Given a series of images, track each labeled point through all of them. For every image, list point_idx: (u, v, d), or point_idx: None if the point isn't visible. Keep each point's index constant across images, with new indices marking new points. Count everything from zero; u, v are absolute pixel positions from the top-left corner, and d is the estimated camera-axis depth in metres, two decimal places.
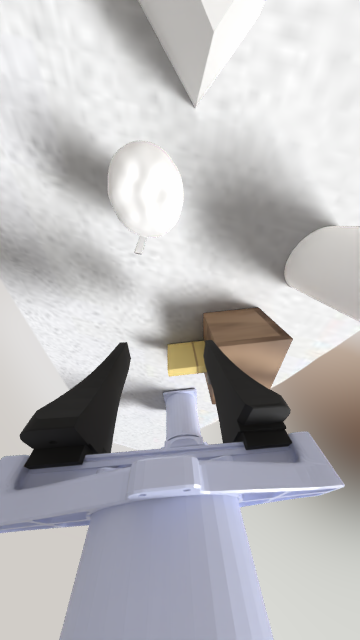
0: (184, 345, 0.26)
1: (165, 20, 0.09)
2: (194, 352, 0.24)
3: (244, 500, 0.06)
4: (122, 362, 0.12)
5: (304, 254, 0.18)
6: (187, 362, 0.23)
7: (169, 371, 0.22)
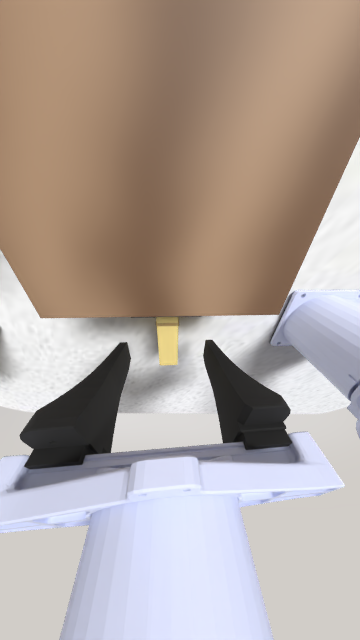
0: None
1: None
2: None
3: (244, 500, 0.06)
4: (122, 362, 0.12)
5: None
6: None
7: (164, 363, 0.13)
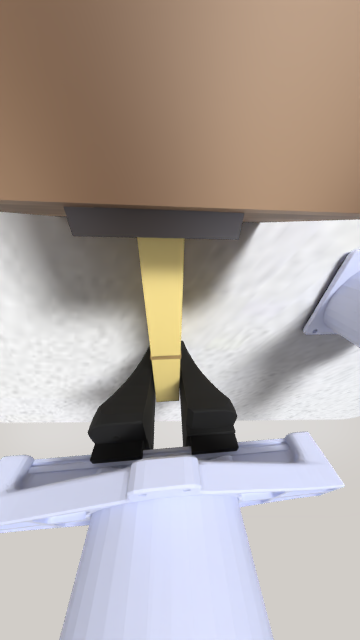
0: None
1: None
2: None
3: (244, 500, 0.06)
4: None
5: None
6: None
7: (162, 399, 0.10)
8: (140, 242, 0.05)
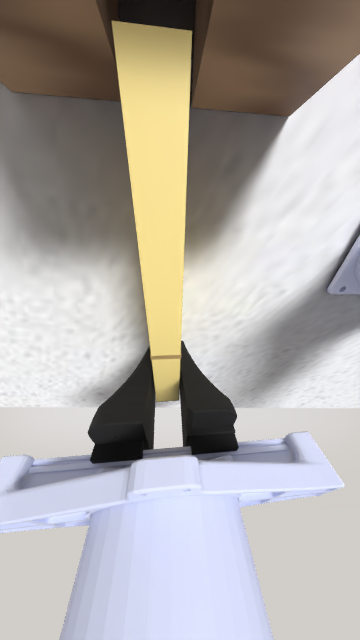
0: None
1: None
2: None
3: (244, 500, 0.06)
4: None
5: None
6: None
7: (162, 399, 0.10)
8: (140, 241, 0.05)
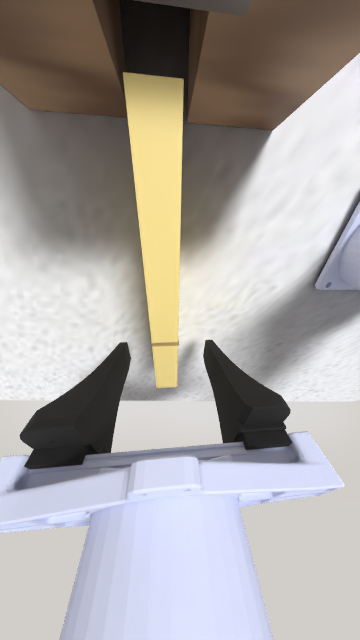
0: None
1: None
2: None
3: (244, 500, 0.06)
4: (122, 362, 0.12)
5: None
6: None
7: (161, 386, 0.11)
8: (143, 240, 0.06)
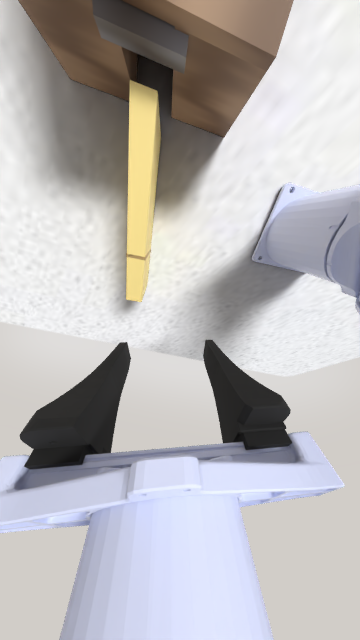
0: None
1: None
2: None
3: (244, 500, 0.06)
4: (122, 362, 0.12)
5: None
6: None
7: (130, 298, 0.16)
8: (129, 171, 0.10)
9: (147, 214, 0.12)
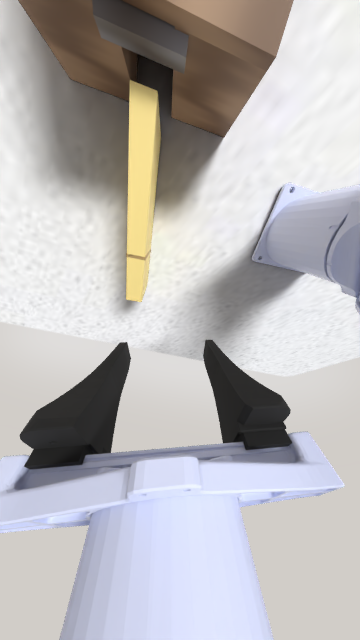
0: None
1: None
2: None
3: (244, 500, 0.06)
4: (122, 362, 0.12)
5: None
6: None
7: (130, 298, 0.16)
8: (129, 171, 0.10)
9: (147, 214, 0.12)
